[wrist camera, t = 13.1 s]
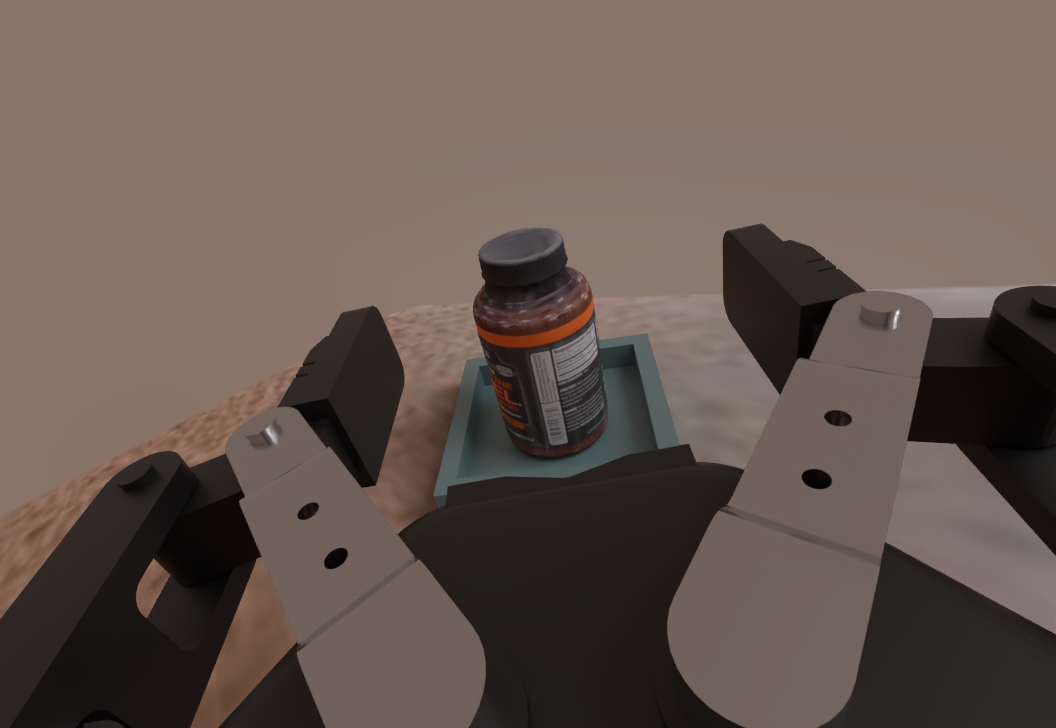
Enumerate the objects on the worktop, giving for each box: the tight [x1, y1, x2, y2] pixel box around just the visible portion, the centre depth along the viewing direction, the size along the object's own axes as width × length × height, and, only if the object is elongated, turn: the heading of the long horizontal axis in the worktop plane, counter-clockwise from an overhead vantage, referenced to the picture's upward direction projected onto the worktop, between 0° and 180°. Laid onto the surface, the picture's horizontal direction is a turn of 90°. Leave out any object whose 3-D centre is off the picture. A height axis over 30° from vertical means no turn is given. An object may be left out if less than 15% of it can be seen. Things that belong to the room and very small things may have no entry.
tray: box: [433, 334, 679, 508], centre depth 30 cm, size 12×12×2 cm
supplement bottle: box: [473, 228, 608, 458], centre depth 27 cm, size 6×6×11 cm
